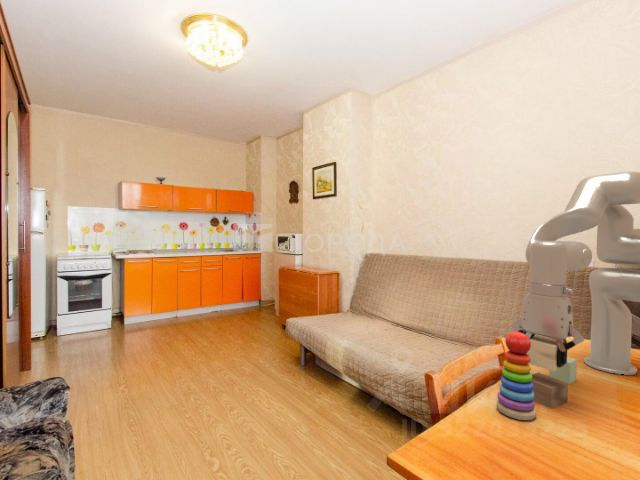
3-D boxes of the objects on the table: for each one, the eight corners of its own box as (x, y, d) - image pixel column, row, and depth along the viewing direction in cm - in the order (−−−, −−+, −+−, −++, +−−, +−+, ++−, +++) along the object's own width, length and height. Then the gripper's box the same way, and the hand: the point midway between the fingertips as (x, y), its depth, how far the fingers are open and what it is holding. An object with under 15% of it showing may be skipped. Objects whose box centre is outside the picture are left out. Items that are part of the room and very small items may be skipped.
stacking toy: (542, 424, 71) (545, 339, 71) (503, 419, 72) (505, 336, 72) (527, 405, 79) (529, 329, 78) (491, 401, 80) (493, 326, 80)
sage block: (556, 373, 98) (556, 354, 97) (576, 380, 93) (576, 359, 93) (549, 377, 95) (549, 357, 95) (569, 384, 91) (570, 363, 90)
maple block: (536, 358, 86) (537, 335, 86) (563, 366, 81) (564, 342, 81) (526, 362, 83) (527, 339, 83) (553, 371, 78) (554, 346, 78)
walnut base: (538, 390, 87) (538, 372, 87) (567, 403, 81) (568, 383, 80) (521, 396, 84) (522, 377, 84) (551, 409, 77) (551, 388, 77)
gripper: (595, 294, 77) (592, 370, 77) (517, 284, 91) (515, 348, 91) (584, 297, 72) (581, 377, 73) (504, 286, 87) (502, 353, 87)
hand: (544, 360), depth 82 cm, fingers closed on maple block, 6 cm apart
